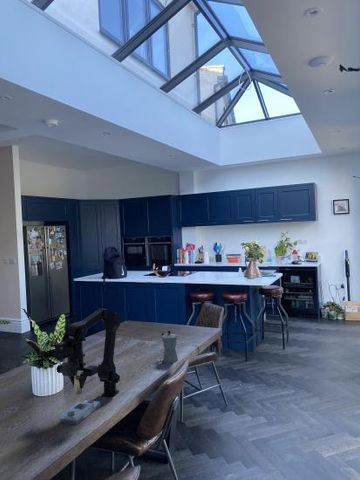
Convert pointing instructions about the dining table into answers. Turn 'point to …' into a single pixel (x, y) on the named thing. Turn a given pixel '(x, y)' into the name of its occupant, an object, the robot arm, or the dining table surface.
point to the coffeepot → (169, 347)
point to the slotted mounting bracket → (79, 411)
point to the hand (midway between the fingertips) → (78, 388)
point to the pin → (77, 384)
